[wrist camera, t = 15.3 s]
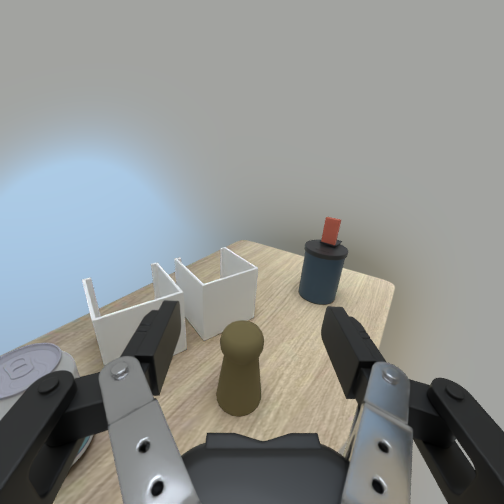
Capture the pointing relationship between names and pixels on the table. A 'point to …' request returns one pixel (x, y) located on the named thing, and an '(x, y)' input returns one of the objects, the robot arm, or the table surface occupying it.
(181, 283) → the storage container
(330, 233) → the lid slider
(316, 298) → the travel cup
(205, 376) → the table surface
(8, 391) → the beverage can
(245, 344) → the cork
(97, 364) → the table surface
